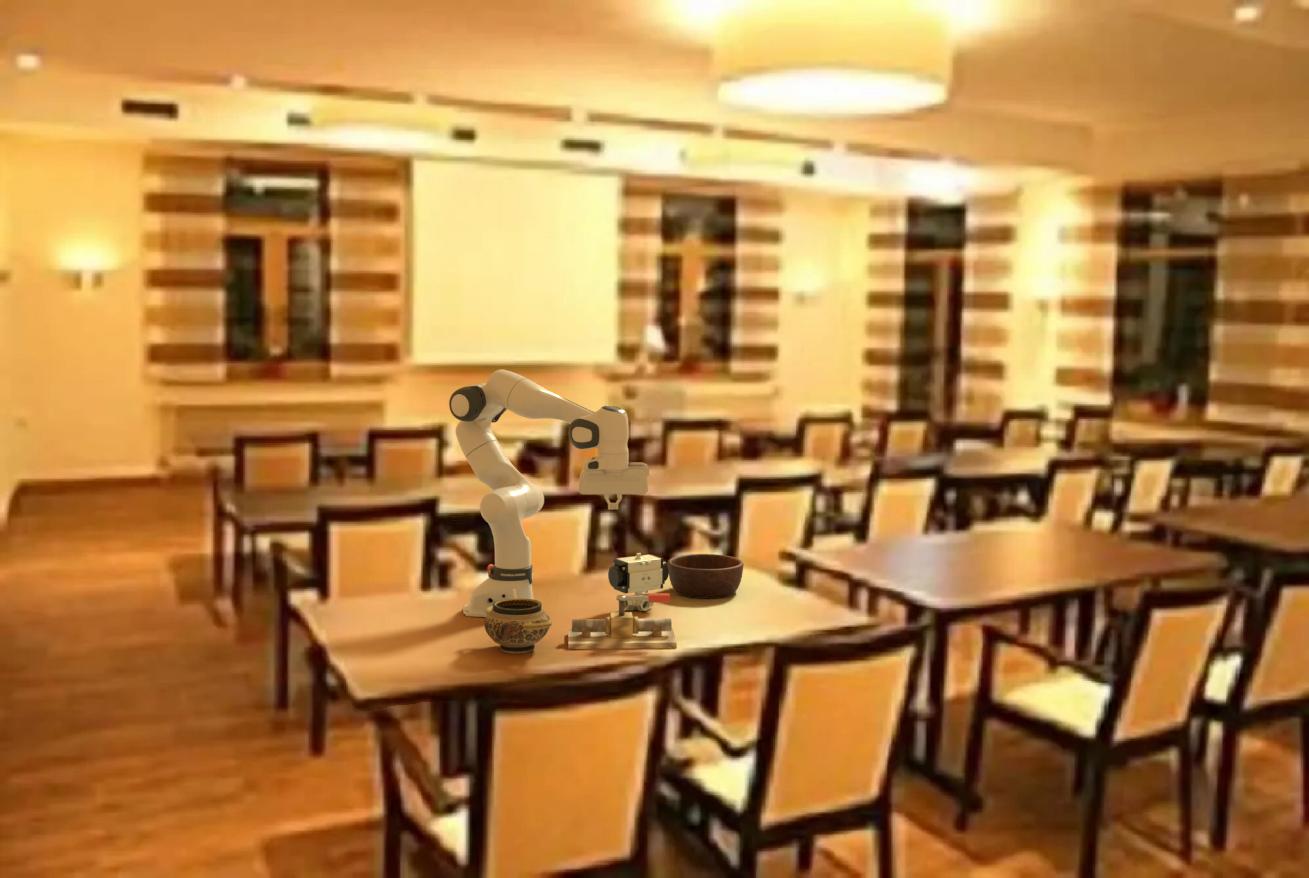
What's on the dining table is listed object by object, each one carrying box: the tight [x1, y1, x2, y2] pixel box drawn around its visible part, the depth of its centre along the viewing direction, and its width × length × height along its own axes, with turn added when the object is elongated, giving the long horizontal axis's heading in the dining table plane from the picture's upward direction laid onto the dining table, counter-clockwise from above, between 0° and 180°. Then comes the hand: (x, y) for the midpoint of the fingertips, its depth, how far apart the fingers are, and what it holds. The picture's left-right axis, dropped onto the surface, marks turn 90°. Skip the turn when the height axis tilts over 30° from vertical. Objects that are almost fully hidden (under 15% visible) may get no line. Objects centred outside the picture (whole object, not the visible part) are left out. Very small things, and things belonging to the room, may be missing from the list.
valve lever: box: [615, 592, 671, 603], centre depth 356 cm, size 15×3×2 cm, turn 93°
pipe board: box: [567, 601, 678, 650], centre depth 356 cm, size 30×15×12 cm, turn 94°
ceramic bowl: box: [483, 599, 553, 654], centre depth 347 cm, size 24×18×15 cm
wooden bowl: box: [667, 553, 744, 599], centre depth 416 cm, size 25×25×10 cm
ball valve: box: [607, 552, 669, 612], centre depth 391 cm, size 18×8×18 cm, turn 121°
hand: (613, 509), depth 367 cm, fingers closed
